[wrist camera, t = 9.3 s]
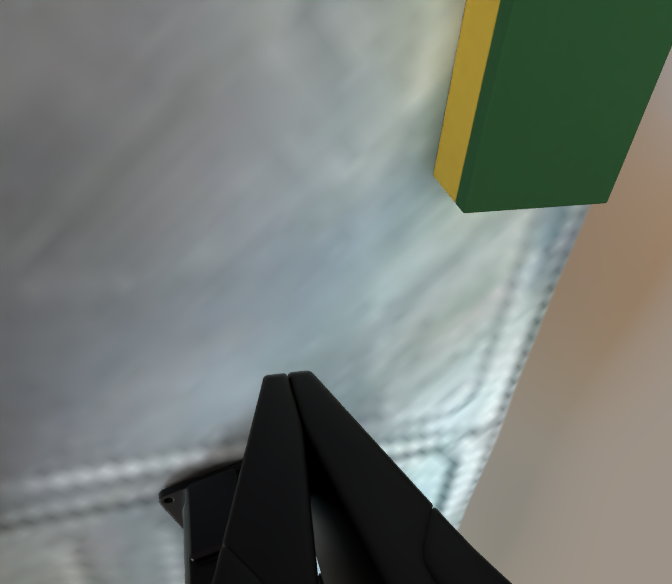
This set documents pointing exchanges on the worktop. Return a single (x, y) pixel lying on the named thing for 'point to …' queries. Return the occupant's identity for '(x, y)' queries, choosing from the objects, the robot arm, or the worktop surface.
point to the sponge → (548, 99)
